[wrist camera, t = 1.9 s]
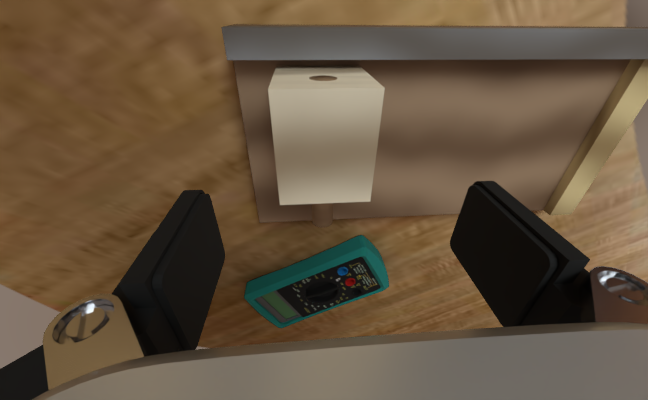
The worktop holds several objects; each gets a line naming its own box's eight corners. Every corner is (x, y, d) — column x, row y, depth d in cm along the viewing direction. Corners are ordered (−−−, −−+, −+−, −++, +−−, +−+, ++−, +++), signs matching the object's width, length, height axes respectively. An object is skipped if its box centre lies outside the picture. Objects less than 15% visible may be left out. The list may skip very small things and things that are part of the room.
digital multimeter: (389, 269, 32) (396, 291, 29) (278, 311, 34) (277, 334, 32) (366, 227, 28) (373, 248, 25) (243, 279, 31) (239, 302, 28)
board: (234, 24, 17) (221, 27, 14) (651, 27, 19) (715, 30, 16) (262, 208, 25) (257, 234, 22) (552, 196, 27) (582, 219, 24)
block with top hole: (276, 65, 16) (268, 89, 11) (358, 65, 17) (384, 88, 12) (286, 191, 21) (284, 245, 17) (349, 189, 22) (365, 241, 17)
